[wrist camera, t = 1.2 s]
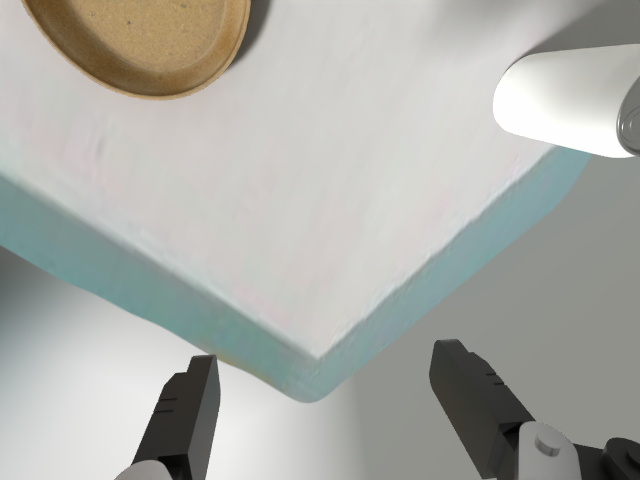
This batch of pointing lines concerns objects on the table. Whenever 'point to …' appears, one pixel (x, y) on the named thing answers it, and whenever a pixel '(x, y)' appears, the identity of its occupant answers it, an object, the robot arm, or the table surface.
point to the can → (575, 99)
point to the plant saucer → (145, 41)
